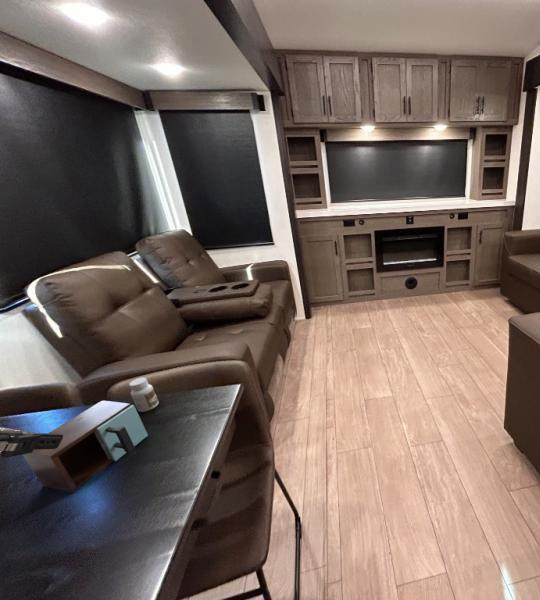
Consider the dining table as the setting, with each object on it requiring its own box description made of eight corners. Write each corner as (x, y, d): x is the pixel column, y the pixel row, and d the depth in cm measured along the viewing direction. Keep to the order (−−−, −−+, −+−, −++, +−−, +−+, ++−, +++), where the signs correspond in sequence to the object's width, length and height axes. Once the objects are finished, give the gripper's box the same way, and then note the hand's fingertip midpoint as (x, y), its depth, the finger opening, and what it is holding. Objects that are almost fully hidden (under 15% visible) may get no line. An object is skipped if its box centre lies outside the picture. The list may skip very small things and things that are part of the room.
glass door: (113, 460, 65) (96, 428, 62) (146, 435, 71) (131, 404, 68) (131, 464, 64) (114, 431, 61) (162, 437, 70) (148, 407, 67)
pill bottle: (156, 409, 80) (145, 383, 77) (135, 414, 79) (123, 388, 76) (161, 399, 84) (151, 374, 81) (141, 404, 82) (130, 379, 80)
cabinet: (43, 486, 61) (19, 450, 57) (118, 431, 73) (102, 400, 70) (73, 493, 59) (50, 456, 56) (145, 436, 71) (130, 403, 68)
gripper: (-59, 414, 37) (97, 421, 53) (-123, 402, 41) (42, 413, 56) (-105, 486, 35) (75, 472, 50) (-170, 468, 38) (18, 460, 53)
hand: (57, 441), depth 53 cm, fingers closed
